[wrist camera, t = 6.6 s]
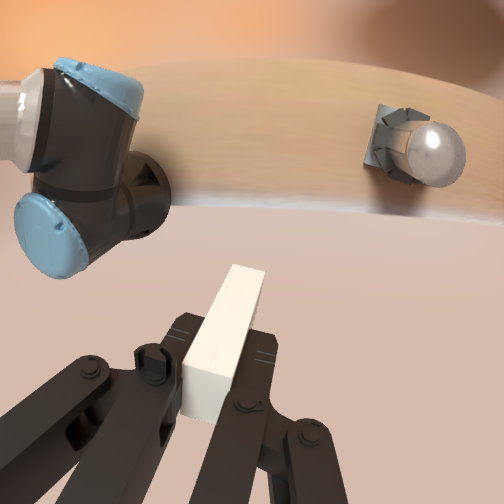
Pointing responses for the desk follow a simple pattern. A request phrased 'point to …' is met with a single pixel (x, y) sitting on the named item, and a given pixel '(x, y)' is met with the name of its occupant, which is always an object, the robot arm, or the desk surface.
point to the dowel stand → (369, 156)
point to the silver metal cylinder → (427, 152)
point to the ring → (383, 136)
